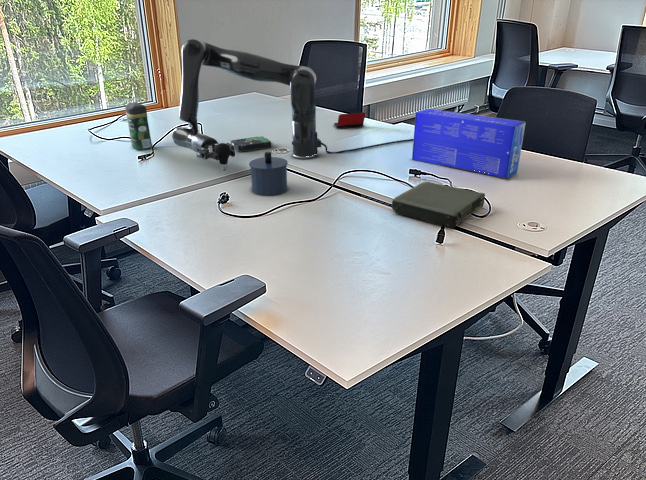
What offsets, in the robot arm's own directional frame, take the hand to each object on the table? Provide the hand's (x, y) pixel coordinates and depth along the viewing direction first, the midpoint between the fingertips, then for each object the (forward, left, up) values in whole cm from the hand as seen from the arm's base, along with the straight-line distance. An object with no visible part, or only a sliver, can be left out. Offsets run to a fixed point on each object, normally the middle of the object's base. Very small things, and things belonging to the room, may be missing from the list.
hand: (226, 155), depth 207 cm
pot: (-12, +16, -9) cm, 22 cm away
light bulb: (+1, -2, -6) cm, 7 cm away
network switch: (-57, +52, -9) cm, 77 cm away
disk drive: (-16, -38, -9) cm, 43 cm away
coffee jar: (+29, -54, -9) cm, 62 cm away
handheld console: (-66, -55, -9) cm, 87 cm away
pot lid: (-12, +16, 0) cm, 20 cm away
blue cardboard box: (-86, +15, -9) cm, 87 cm away
